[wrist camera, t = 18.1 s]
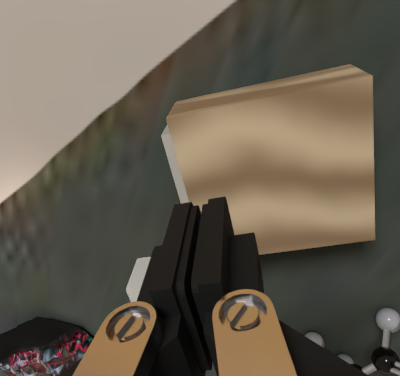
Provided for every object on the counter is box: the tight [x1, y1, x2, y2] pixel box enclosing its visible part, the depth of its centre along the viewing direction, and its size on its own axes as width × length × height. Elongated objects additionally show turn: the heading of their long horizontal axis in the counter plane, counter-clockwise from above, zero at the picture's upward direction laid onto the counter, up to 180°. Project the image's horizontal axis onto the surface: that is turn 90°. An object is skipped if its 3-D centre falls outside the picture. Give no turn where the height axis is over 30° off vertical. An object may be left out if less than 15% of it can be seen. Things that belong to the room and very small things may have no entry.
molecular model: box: [304, 308, 400, 376], centre depth 38 cm, size 8×12×11 cm
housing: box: [166, 64, 375, 255], centre depth 31 cm, size 14×15×5 cm
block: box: [126, 257, 151, 302], centre depth 39 cm, size 5×5×5 cm
